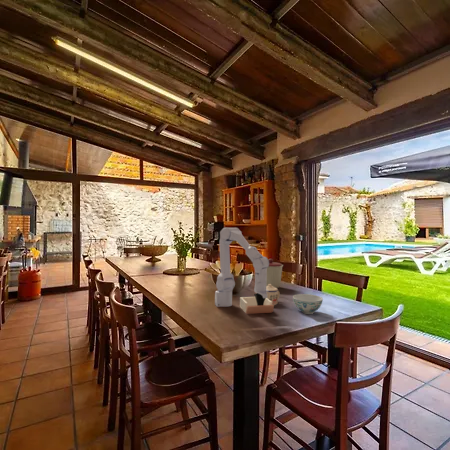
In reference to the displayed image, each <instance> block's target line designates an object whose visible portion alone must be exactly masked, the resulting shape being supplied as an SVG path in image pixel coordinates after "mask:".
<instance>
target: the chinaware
mask: <svg viewBox="0 0 450 450" xmlns="http://www.w3.org/2000/svg"><path fill="white" fill-rule="evenodd" d="M323 300H324V299H323V297H321V296H319V295H315V294H307V293H298V294H294V295H292V301H293V303H294V305H295V306H296V308H297V309H298V310H299V311H300V312H301V313H302V314H305V315H313V313H314V314H315V312H316V311H318V310H319V309H320V308H321V306H322V304H323V302H324V301H323Z"/></svg>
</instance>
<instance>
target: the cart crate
mask: <svg viewBox="0 0 450 450" xmlns="http://www.w3.org/2000/svg"><path fill="white" fill-rule="evenodd" d="M263 305H272V301H270V300H269V299H268V298H266V299H265V301H264V304H263ZM248 306H257V301H256V298H255V296H241V297H239V307H240V308H241V310H242V311H243V312H244V313H245V314H246V312H247V307H248Z"/></svg>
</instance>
